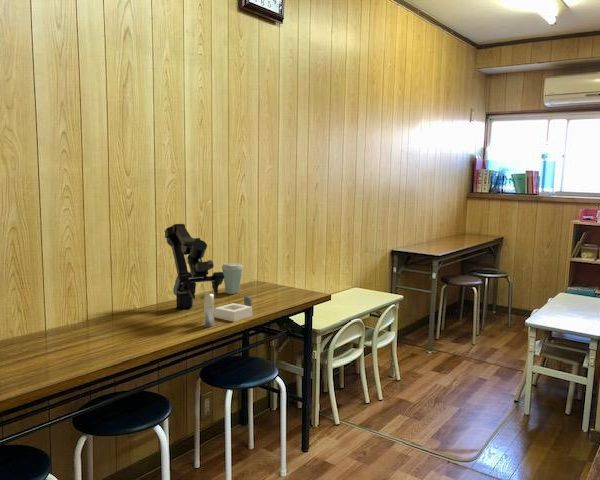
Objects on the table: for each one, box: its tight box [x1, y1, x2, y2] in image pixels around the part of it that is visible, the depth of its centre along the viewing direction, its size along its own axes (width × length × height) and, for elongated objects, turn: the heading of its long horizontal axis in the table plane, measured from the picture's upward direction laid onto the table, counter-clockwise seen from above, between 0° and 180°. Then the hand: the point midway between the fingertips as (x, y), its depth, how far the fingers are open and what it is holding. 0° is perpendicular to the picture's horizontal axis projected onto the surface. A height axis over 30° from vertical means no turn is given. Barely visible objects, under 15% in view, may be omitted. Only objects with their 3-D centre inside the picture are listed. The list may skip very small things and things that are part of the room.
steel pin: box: [203, 292, 215, 328], centre depth 207 cm, size 4×4×12 cm
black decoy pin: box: [243, 295, 253, 308], centre depth 232 cm, size 3×3×6 cm
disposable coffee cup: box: [221, 262, 244, 295], centre depth 267 cm, size 11×11×15 cm
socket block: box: [214, 302, 253, 322], centre depth 221 cm, size 11×11×4 cm
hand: (205, 297), depth 210 cm, fingers open, 9 cm apart
